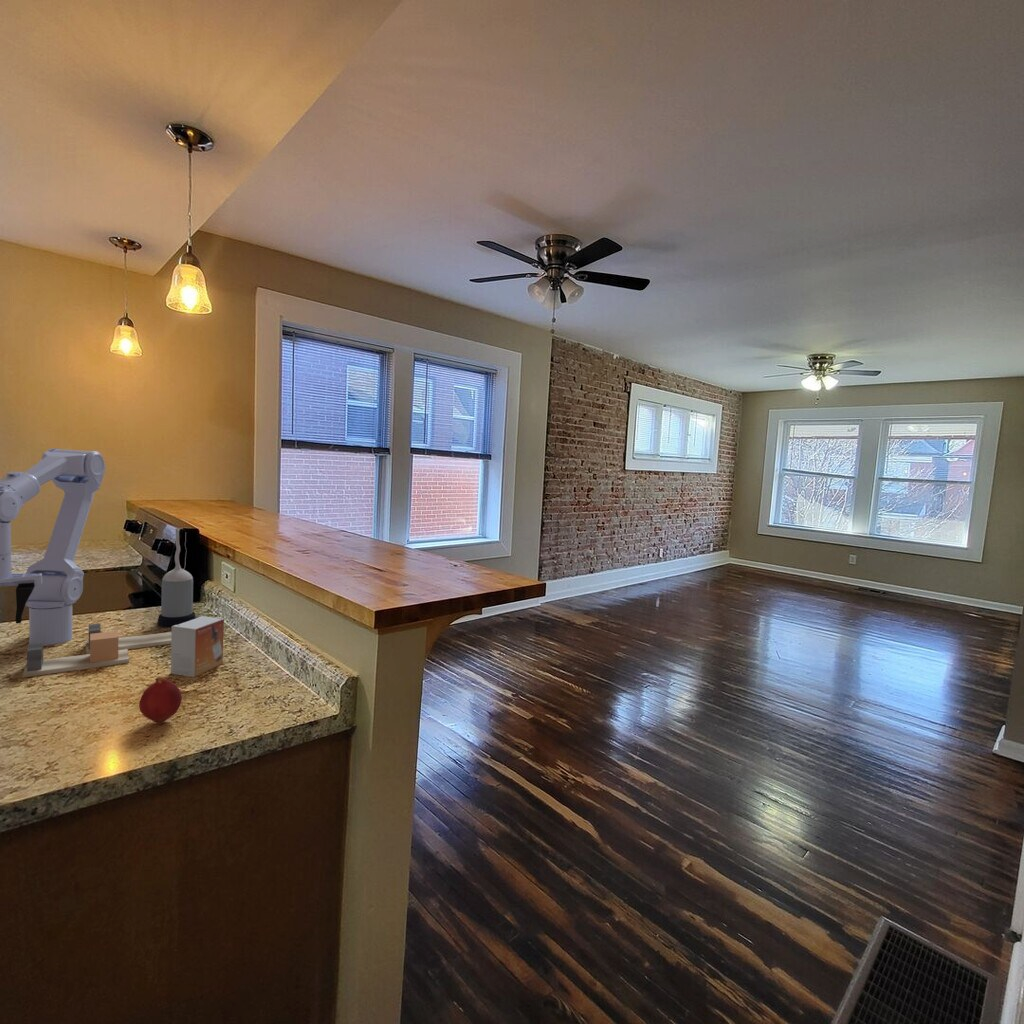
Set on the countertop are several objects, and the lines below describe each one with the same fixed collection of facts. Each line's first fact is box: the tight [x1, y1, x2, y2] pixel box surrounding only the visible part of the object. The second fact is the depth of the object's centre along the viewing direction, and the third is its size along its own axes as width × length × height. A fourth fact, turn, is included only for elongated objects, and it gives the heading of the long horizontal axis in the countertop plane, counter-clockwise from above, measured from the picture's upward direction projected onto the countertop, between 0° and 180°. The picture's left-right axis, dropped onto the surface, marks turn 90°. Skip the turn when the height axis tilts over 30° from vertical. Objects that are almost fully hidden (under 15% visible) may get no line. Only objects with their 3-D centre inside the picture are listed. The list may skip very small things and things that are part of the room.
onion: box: [138, 676, 183, 725], centre depth 88 cm, size 6×6×8 cm
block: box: [90, 630, 119, 662], centre depth 109 cm, size 4×4×4 cm
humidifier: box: [156, 528, 197, 629], centre depth 134 cm, size 8×8×25 cm
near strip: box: [22, 641, 130, 678], centre depth 106 cm, size 6×16×5 cm, turn 128°
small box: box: [170, 615, 225, 678], centre depth 108 cm, size 8×6×10 cm
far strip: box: [84, 622, 172, 655], centre depth 119 cm, size 6×16×5 cm, turn 128°
